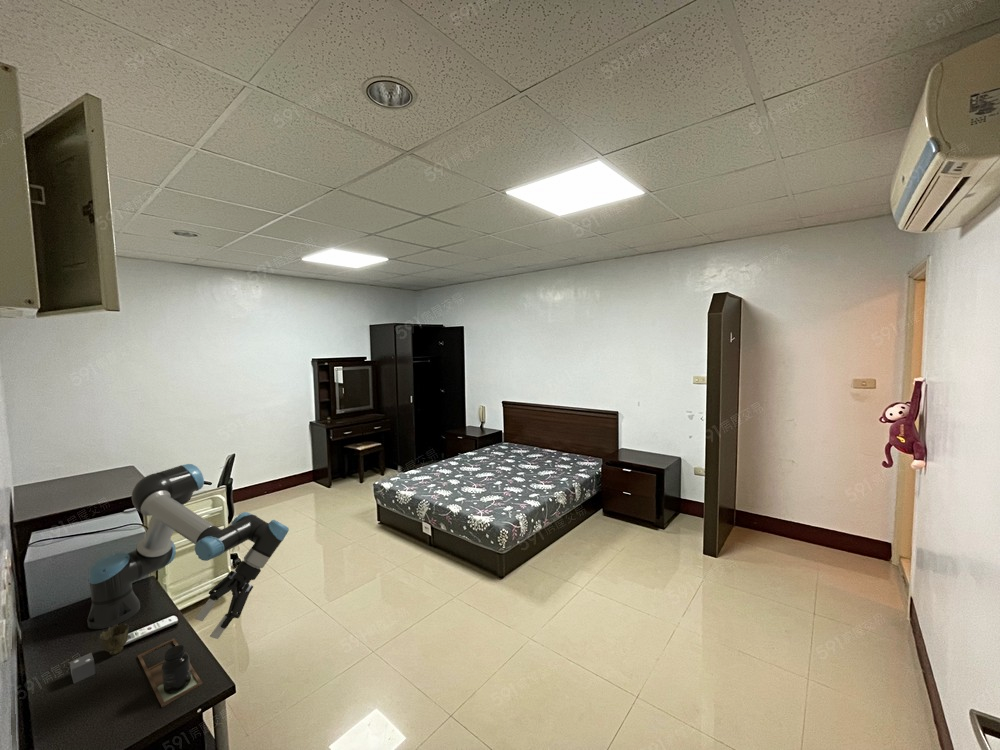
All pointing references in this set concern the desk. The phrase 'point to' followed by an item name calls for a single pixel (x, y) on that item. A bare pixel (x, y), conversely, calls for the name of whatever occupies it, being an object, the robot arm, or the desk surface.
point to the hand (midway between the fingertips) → (205, 628)
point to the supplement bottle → (176, 670)
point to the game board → (157, 680)
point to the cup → (114, 638)
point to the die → (82, 668)
